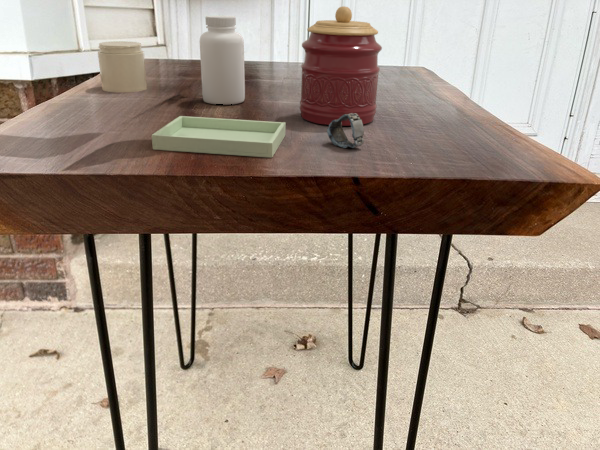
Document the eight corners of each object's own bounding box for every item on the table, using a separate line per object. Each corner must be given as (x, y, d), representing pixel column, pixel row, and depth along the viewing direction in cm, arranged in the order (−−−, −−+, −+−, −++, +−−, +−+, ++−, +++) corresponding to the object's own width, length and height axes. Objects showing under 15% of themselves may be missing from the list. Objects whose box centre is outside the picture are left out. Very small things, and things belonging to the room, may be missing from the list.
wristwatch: (352, 153, 76) (336, 124, 77) (372, 137, 72) (354, 105, 72) (337, 159, 74) (320, 129, 75) (355, 142, 70) (338, 110, 71)
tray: (152, 149, 70) (151, 134, 69) (180, 128, 80) (179, 115, 80) (272, 157, 69) (272, 143, 68) (285, 135, 79) (285, 122, 78)
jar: (95, 102, 96) (88, 44, 91) (115, 93, 103) (109, 40, 99) (137, 104, 95) (132, 46, 91) (154, 96, 102) (150, 42, 98)
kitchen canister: (384, 127, 85) (396, 9, 78) (305, 127, 83) (309, 7, 76) (364, 109, 97) (373, 5, 89) (294, 109, 95) (297, 3, 88)
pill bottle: (194, 100, 100) (189, 14, 93) (228, 95, 105) (226, 14, 98) (218, 107, 94) (215, 18, 88) (253, 102, 99) (253, 17, 93)
